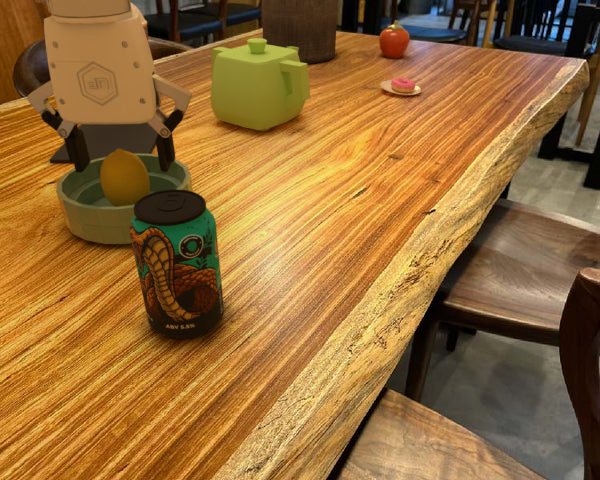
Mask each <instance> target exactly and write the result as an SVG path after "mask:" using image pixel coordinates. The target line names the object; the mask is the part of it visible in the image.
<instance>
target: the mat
mask: <svg viewBox="0 0 600 480" xmlns="http://www.w3.org/2000/svg"><path fill="white" fill-rule="evenodd" d="M78 129H81V131H83V133H84V137H85V141H86V145H87V149H88V153H89V157H90V161H91V160H95V159H99V158H103V157H107V156H108V155H109V154H111V153H113V152H115V151H116V149H122V150H124V151H128V152H131V153H133V154H152V152H153V150H154V149H155V147H156V137H157V136H158V133H157V132H156V131H155V130H154V129H153V128H152V127H151V126H150V125H149V124H148V123H147V122H146V123H141V124H80V125H79V127H78ZM53 163H54V164H56V163H57V164H63V163H64V164H74V163H73V162H71V161H70V159H69V156H68V152H67V148H66V145H65V142H64V143H63V144H62V145H61V146H60V147H59V148H58V150H57V151H56V152H55V153H54V154H52V156H51V157H50V158H49V164H53Z"/></svg>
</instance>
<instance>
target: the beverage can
mask: <svg viewBox="0 0 600 480" xmlns="http://www.w3.org/2000/svg"><path fill="white" fill-rule="evenodd" d="M133 209H134V214H135V215H134V217H133V219H132V221H131V224H130V227H129V231H130V237H131V242H132V243H131V246H132V250H133V256H134V261H135V265H136V271H137V274H138V280H139V284H140V289H141V294H142V298H143V303H144V308H145V309H144V310H145V314H146V317H147V323H148V324H149V326H150V328H151V329H153V330H154V331H155V332H156V333H157V334H160V335H162V336H164V337H166V338H168V339H172V340H178V341H179V340H180V341H181V340H182V341H183V340H184V341H186V340H193V339H196V338H200V337H203V336H205V335H206V334H208V333H209V332H211V331H212V330H213V329H214V328H215V327H217V325H219V323H221V321H222V319H223V317H224V313H225V305H224V295H223V285H222V273H221V261H220V252H219V242H218V232H217V231H218V230H217V222H216V219H215V216H214V214H213V213H212V212H211V211H210V210H209V208H207V202H206V199H205V197H203V196H202V195H201V194H199V193H198V192H196V191H195V192H194V191H193V192H192V191H187V190H177V189H172V190H163V191H158V192H154V193H151V194H148V195H146V196H144V197H142V198H141V199H140V200H138V201H137V202H136V204H135V205H134V208H133Z"/></svg>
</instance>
